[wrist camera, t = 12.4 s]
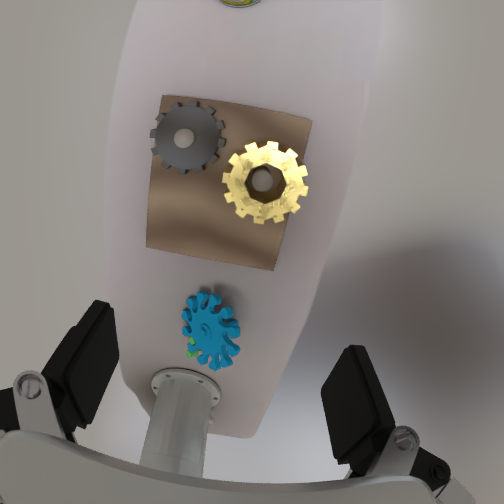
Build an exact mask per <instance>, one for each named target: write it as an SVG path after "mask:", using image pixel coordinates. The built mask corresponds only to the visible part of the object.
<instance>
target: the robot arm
mask: <svg viewBox="0 0 504 504" xmlns="http://www.w3.org/2000/svg"><path fill="white" fill-rule="evenodd" d="M118 360H119V349H118V342H117V334H116V326H115V317H114V309H113V308H111V307H110V304H109V303H107V302H103V301H100V300H95V301H94V302H93V303H92V305H91V306H90V307H89V309H88V310H87V311H86V313H85V314H84V316H83V317H82V318H81V320H80V321H79V322H78V324H77V325H76V326H73V327H72V328H71V329H70V330H69V331H68V333H67V334H66V336H65V337H64V338H63V340H62V341H61V343H60V344H59V346H58V347H57V349H56V350H55V352H54V353H53V355H52V356H51V358H50V359H49V361H48V362H47V364H46V366H45V367H44V369H43V370H42V372H41V373H38V372H36V371H25V372H22V373H21V374H19V375H18V376H17V377H16V379H15V380H14V383H13V387H11V388H8V389H3V390H0V504H475V499H474V497H473V496H472V495H471V494H470V493H469V492H468V491H467V490H466V489H465V488H464V487H463V486H462V485H461V484H460V483H459V482H458V481H457V480H456V479H455V478H454V477H452V478H450V475H451V473H450V468H449V466H448V465H447V463H446V462H445V461H443V460H442V459H440V458H438V457H436V456H435V455H433V454H431V453H429V452H428V451H426V450H424V449H423V448H421V447H419V445H420V440H419V436H418V434H417V433H416V432H415V430H413V429H412V428H410V427H408V426H398V427H396V426H395V420H394V418H393V415H392V412H391V410H390V407H389V405H388V402H387V399H386V397H385V394H384V392H383V389H382V387H381V384H380V382H379V379H378V377H377V375H376V372H375V370H374V368H373V365H372V363H371V360H370V358H369V356H368V353H367V351H366V349H365V347H364V346H362V345H350V346H349V347H348V348H345V349H344V351H343V353H342V354H341V356H340V358H339V360H338V361H337V363H336V365H335V366H334V368H333V370H332V371H331V373H330V375H329V377H328V378H327V380H326V381H325V383H324V384H323V386H322V388H321V397H322V402H323V407H324V411H325V416H326V421H327V426H328V431H329V435H330V441H331V445H332V451H333V456H334V458H335V459H337V461H338V465H340V464H348V463H349V464H350V470H349V472H348V473H347V475H346V476H345V478H344V479H343V480H334V481H323V482H311V483H286V484H285V483H284V484H271V483H269V484H268V483H242V482H231V481H221V480H212V479H204V478H202V475H203V466H204V456H205V448H206V438H207V430H208V423H209V424H213V423H214V419H213V418H212V417H211V416H210V414H211V408H213V407H215V406H216V405H217V404H218V403H219V401H220V396H221V393H220V389H219V387H218V386H217V385H216V384H215V383H214V382H213V381H212V380H211V379H209V378H207V377H206V376H204V375H202V374H199V373H197V372H194V371H190V370H185V369H165V370H162V371H160V372H158V373H156V374H155V375H154V377H153V379H152V382H151V388H152V390H153V392H154V393H155V395H156V396H157V397H156V400H155V404H154V408H153V411H152V415H151V419H150V423H149V427H148V431H147V434H146V438H145V442H144V446H143V451H142V455H141V459H140V464H139V465H137V464H134V463H130V462H127V461H123V460H121V459H117V458H114V457H111V456H108V455H105V454H102V453H99V452H96V451H93V450H91V449H88V448H86V447H83V446H81V445H78V443H77V440H76V438H75V435H74V433H73V432H74V431H75V429H76V427H77V426H78V427H81V428H83V429H85V428H86V426H87V424H91V423H92V421H93V419H94V416H95V414H96V411H97V409H98V407H99V404H100V402H101V399H102V397H103V394H104V392H105V390H106V388H107V385H108V383H109V381H110V378H111V376H112V374H113V372H114V369H115V367H116V365H117V363H118Z"/></svg>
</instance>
